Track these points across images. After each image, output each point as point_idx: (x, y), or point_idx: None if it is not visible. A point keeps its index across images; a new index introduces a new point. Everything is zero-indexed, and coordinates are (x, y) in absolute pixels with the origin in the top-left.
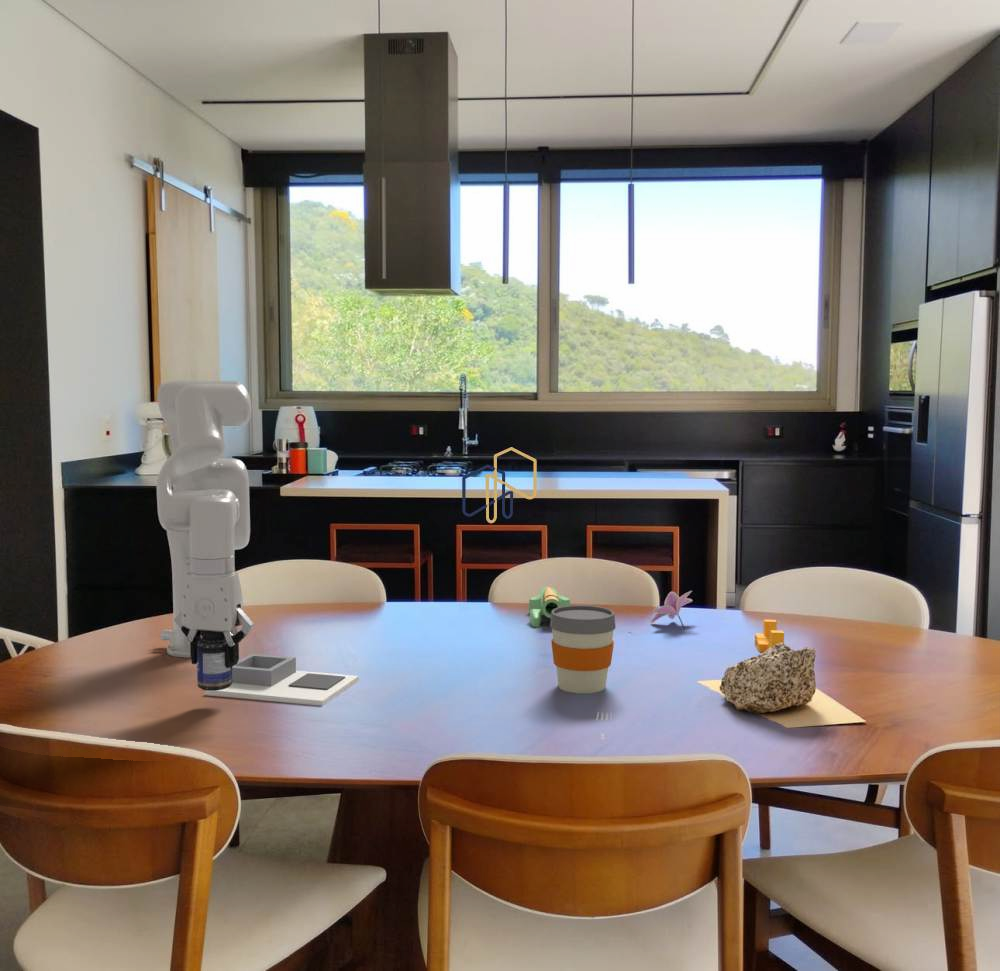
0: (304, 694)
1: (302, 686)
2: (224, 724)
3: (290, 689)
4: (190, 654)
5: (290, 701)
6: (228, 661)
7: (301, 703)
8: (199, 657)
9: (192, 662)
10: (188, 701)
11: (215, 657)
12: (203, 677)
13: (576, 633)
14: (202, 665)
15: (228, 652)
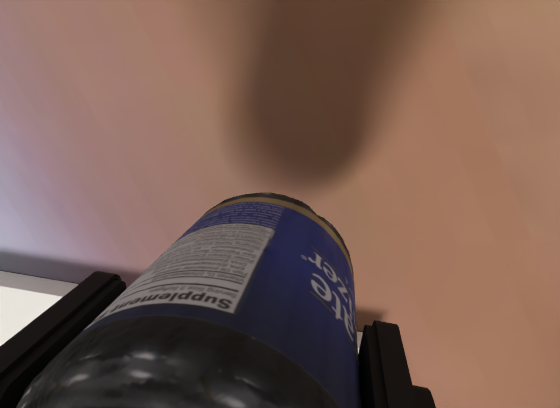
0: (14, 325)
1: None
2: (145, 34)
3: None
4: (433, 402)
5: (46, 285)
6: (67, 294)
7: (10, 276)
8: (290, 303)
9: (389, 327)
10: (419, 275)
11: (128, 292)
12: (276, 218)
13: None
14: (268, 255)
15: (8, 346)
